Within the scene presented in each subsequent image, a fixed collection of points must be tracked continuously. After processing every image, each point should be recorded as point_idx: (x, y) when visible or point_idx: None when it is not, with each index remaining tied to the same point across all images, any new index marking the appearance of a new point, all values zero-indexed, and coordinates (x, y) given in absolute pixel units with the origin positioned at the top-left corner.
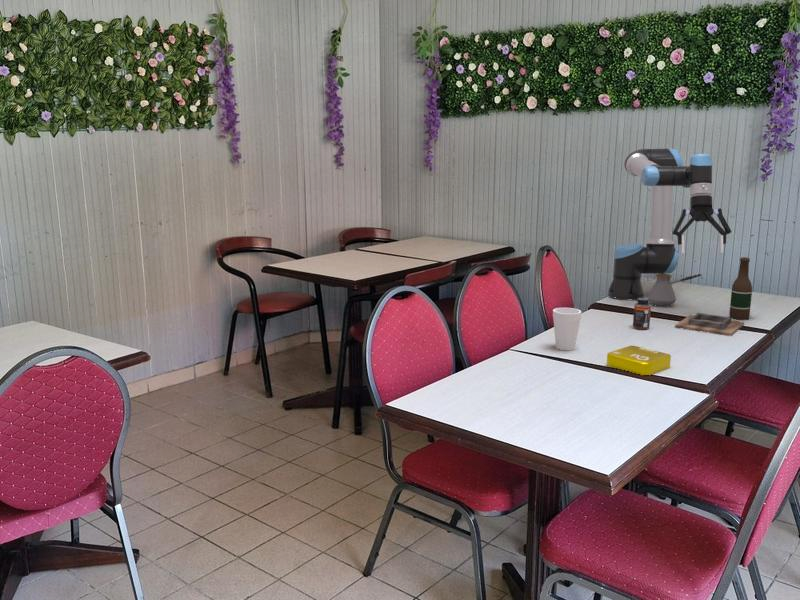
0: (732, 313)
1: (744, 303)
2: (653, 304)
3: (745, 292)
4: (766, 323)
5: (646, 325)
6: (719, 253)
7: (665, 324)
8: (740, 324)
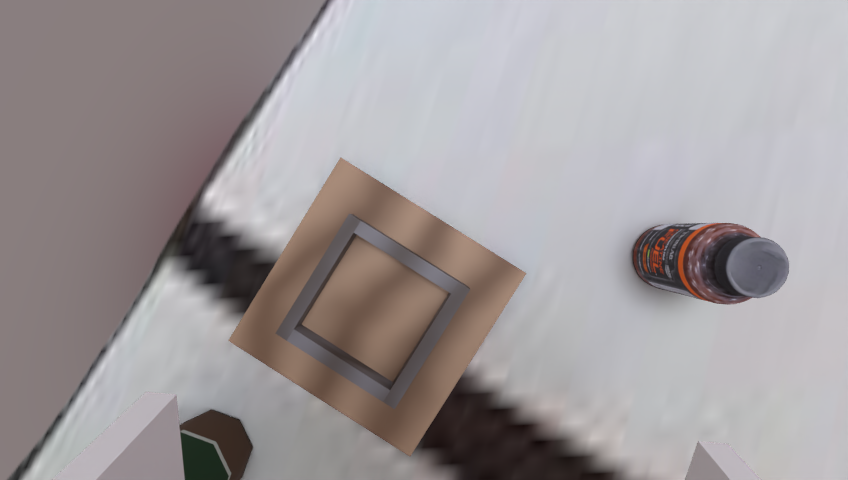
0: (236, 443)
1: None
2: None
3: None
4: (139, 364)
5: (659, 227)
6: (182, 472)
7: (546, 323)
8: (257, 301)
